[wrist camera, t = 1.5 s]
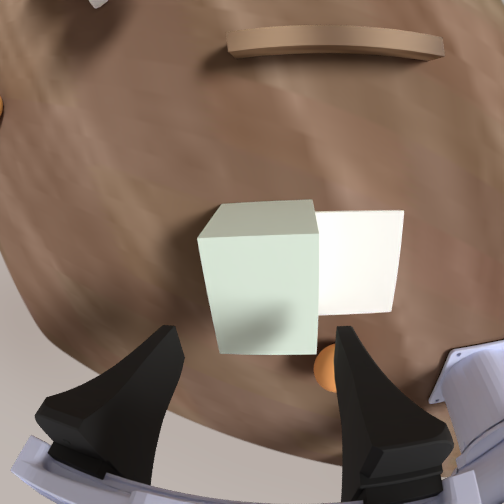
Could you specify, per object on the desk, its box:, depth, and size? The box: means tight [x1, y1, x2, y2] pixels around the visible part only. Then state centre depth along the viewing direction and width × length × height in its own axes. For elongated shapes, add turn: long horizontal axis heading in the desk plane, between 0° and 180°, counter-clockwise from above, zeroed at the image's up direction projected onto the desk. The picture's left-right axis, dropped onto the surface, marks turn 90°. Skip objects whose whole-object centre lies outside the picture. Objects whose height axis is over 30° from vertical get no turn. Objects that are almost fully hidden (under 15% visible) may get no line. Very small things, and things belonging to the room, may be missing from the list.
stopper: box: [226, 25, 445, 61], centre depth 13 cm, size 12×1×2 cm, turn 95°
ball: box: [314, 344, 337, 393], centre depth 22 cm, size 4×4×4 cm
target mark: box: [315, 210, 404, 315], centre depth 21 cm, size 8×8×1 cm
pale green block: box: [197, 200, 319, 355], centre depth 19 cm, size 6×8×6 cm
